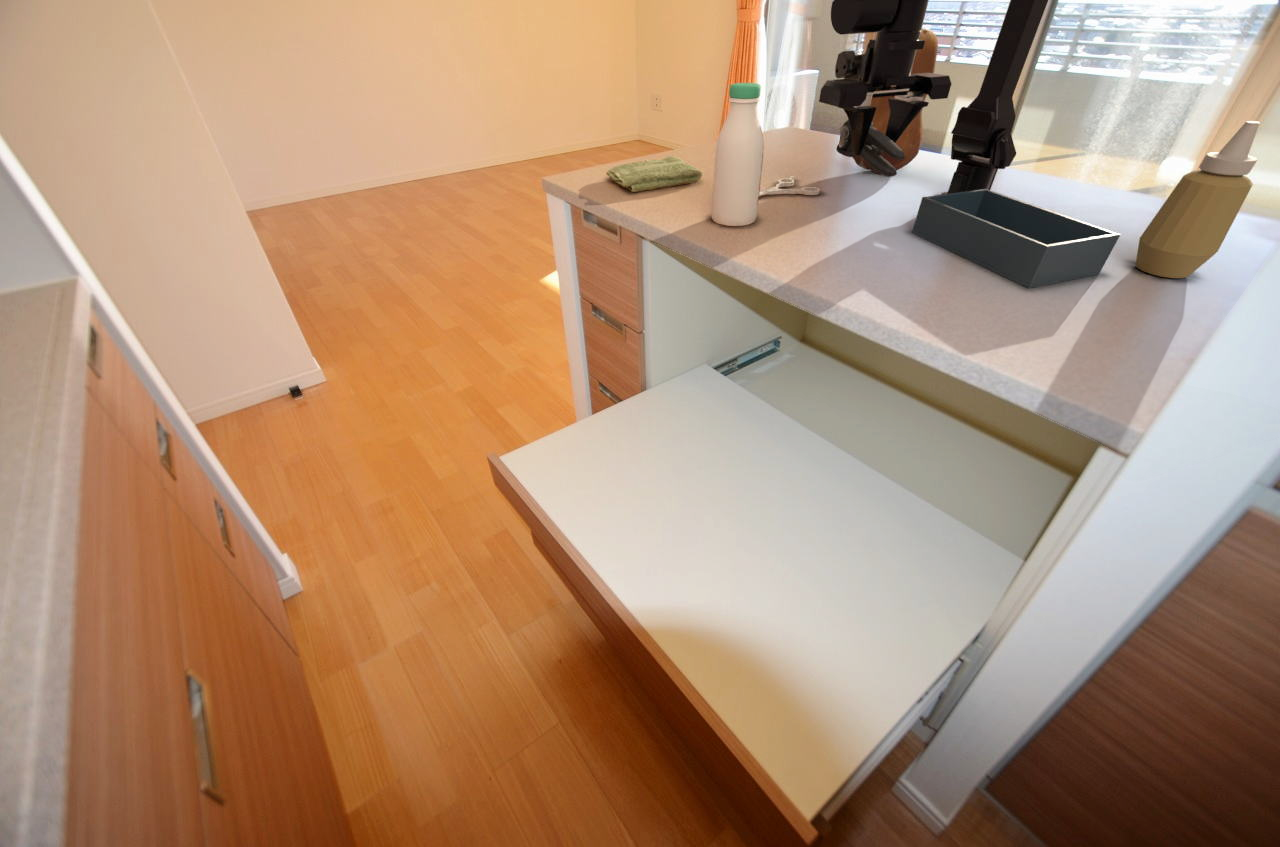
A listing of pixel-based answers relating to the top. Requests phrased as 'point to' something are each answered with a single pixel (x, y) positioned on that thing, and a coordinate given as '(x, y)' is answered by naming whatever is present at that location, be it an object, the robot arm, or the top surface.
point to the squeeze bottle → (1199, 210)
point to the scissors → (789, 183)
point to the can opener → (871, 149)
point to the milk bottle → (738, 159)
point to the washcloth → (654, 174)
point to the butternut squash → (914, 131)
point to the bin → (1014, 237)
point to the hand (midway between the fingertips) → (871, 153)
